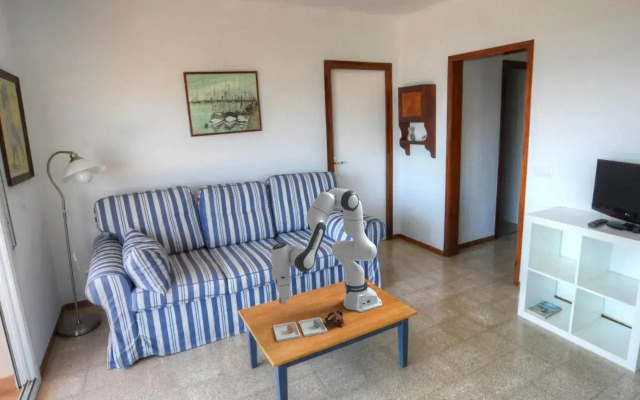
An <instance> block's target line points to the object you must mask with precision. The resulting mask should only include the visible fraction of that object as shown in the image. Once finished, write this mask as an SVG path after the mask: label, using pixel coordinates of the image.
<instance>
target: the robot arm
mask: <svg viewBox="0 0 640 400" xmlns="http://www.w3.org/2000/svg"><path fill="white" fill-rule="evenodd" d="M309 207H310V208H309V209H308V210H307V211H308V212H307V213H306V216H305V218H306V222H307V225H308V226H309V227H310V231H311V235H310V236H309V240H308V241H307V244H306V246H305V248H304V249H303V248H301V247H299V246H296V245H291V244H288V243H286V242H278V243H275V244H274V245H273V246H272V248H271V253H270V255H271V258H270V259H271V265H272V267H271V268H272V269H271V279H272V281H273V282H274V283H275V287H276V290H277V292H278V295H279V297H281V303H282V304H281V305H286V303H285V300H286V301H289V299H290V291H291V290H290V285H291V270H290V268H291V267H294V268H296V269H297V270H298V271H300V272H302V273H306V272H309V271H310V270H312V269H313V267H314V266H315V264H316V259H317V255H318V252H319V249H320V247H321V244H322V242H323V240H324V237H325V235H326V232H327V231H326V230H327V224H328V220H329V218H330V216H331V214H332V211H334V209H338V210H342V212H343V214H342V218H343V220H342V221H343V222H342V223H343V231H344V233H345V235H347V236H348V237H350V238H352V240H346V239H345V240H338V241H335V242H334V243H333V245H332V247H331V254H332V256H333V257H334V258H335V259H336V260H338V262H340V264H341V266H342V267H343V270H344V279H345V281H344V300H343V304H342V305H343V307H344V308H346V309H347V310H350V311H356V312H359V313H363V312H366V311H369V310H372V309H376V308H380V307H382V306H383V305H382V304H383V302H382V300H381V298H380V297H378V294H377V292H376V291H375V290H374V289H373V288H371V286H372V285H371V284H370V283H369V282H367V280H366V279H365V270H364V267H363V266H361V265H360V264H359V263H357V262H358V261H359V262H360V261H361V262H367V261H373V260H375V258H376V257H377V255H378V249H377V246H376V245H375V243H374V242H373V241H371V240H370V238H368V236H367V235H366V233H365V227H364V212H363V211H364V210H363V205H362V202H361V200H360V199H359V195H358V194H357V193H356V192H355V191H353V190H351V189H350V190H349V189H346V188H340V187H339V188H338V187H329V188H328V189H326V190H325V191H322V192H320V193H319V194H318V195H317V196H316V198H315V199H314V200H313V202H312V203H311V205H310V206H309ZM356 261H357V262H356Z"/></svg>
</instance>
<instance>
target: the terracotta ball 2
mask: <svg viewBox="0 0 640 400" xmlns="http://www.w3.org/2000/svg"><path fill="white" fill-rule="evenodd" d="M287 330H288V331H289V332H293V331H294V330H295V326H294V325H293V324H289V325H288V327H287Z"/></svg>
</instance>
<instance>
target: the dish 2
mask: <svg viewBox="0 0 640 400" xmlns="http://www.w3.org/2000/svg"><path fill="white" fill-rule="evenodd" d="M316 319H318V320H320V321H321V325H320V327H315V326H314V324H313V323H314V321H315V320H316ZM298 325H299V326H300V330H301V331H302V334H303V337H304V338H305V337H307V338H308V337H311V336H312V337H313V336H317V335H321V334H328V329H327V327H326V326H325V323H324V322H323V320H322V317H321V316H320V317H313V318H308V319H302V320H298Z"/></svg>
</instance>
